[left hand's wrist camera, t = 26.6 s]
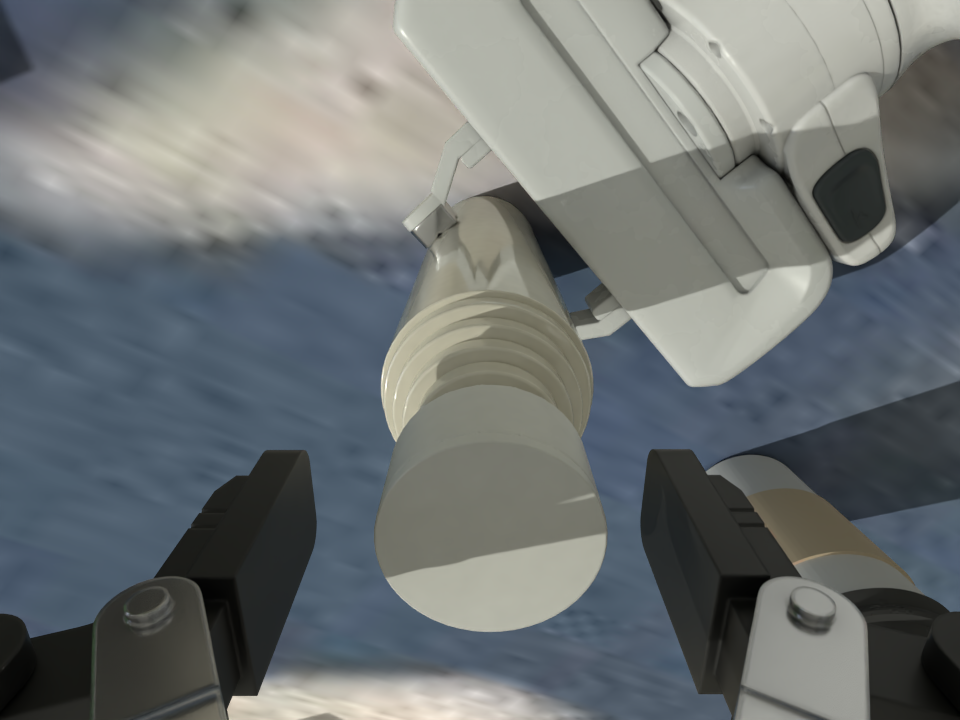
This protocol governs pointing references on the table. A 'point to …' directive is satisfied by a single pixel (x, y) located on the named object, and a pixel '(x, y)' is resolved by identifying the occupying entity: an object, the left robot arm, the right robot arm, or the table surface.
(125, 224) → the table surface
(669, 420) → the table surface
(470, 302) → the bottle
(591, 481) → the cap
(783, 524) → the coffee cup
